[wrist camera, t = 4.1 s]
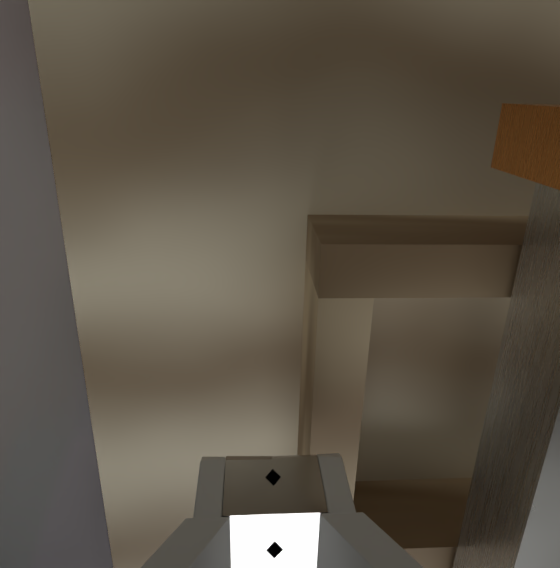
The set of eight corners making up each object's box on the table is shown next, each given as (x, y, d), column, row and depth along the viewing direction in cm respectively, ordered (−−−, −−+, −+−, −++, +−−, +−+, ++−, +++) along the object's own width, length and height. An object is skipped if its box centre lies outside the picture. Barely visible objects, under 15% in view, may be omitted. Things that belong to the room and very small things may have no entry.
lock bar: (514, 603, 15) (581, 733, 12) (411, 608, 15) (453, 741, 12) (661, 106, 9) (849, 115, 7) (502, 103, 9) (621, 111, 6)
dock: (681, 572, 20) (766, 667, 16) (128, 596, 18) (102, 705, 15) (941, 12, 12) (1190, -15, 9) (42, -20, 11) (-46, -66, 8)
